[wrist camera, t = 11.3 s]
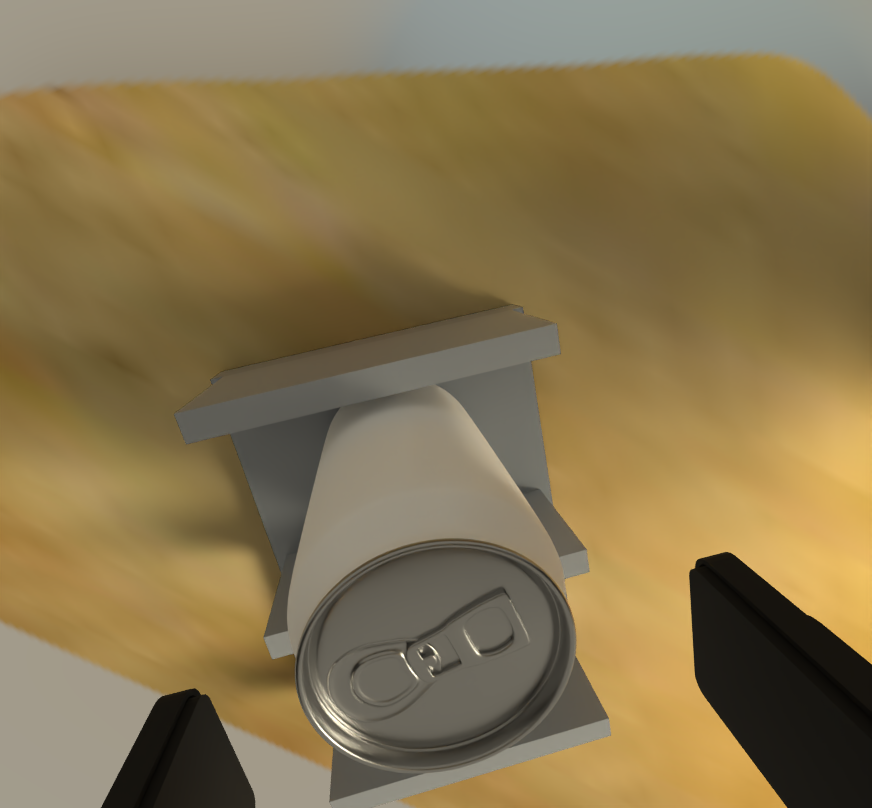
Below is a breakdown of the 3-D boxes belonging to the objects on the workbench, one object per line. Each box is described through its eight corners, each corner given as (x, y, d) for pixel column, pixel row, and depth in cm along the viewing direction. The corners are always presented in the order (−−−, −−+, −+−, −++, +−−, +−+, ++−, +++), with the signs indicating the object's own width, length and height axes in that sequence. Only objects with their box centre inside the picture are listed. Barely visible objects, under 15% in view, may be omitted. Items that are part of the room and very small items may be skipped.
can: (297, 416, 20) (199, 621, 8) (436, 348, 20) (530, 460, 8) (368, 536, 22) (368, 834, 10) (495, 474, 22) (636, 703, 10)
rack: (512, 304, 21) (571, 320, 15) (563, 623, 27) (622, 732, 20) (221, 371, 20) (156, 418, 14) (334, 688, 26) (324, 822, 20)
